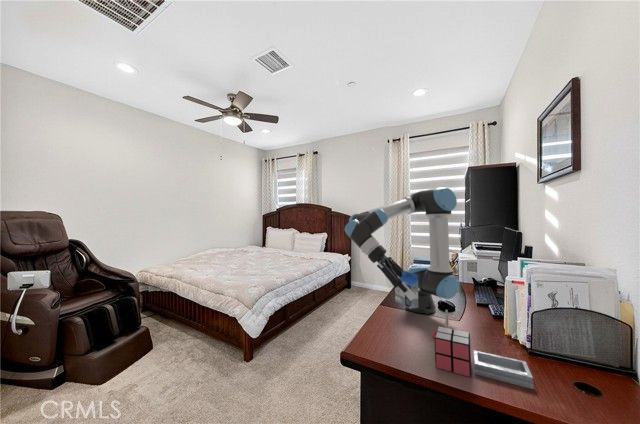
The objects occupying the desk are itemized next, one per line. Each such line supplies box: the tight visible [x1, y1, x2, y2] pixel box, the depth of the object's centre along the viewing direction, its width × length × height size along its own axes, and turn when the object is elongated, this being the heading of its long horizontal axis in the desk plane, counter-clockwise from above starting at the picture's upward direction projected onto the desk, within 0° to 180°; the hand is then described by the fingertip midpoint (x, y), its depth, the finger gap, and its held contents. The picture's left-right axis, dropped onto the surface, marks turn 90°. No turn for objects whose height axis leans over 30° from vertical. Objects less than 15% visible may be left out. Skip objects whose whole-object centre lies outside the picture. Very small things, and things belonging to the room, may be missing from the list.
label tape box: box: [394, 270, 418, 309], centre depth 92 cm, size 9×4×12 cm, turn 23°
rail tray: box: [473, 349, 535, 390], centre depth 76 cm, size 10×14×3 cm
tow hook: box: [432, 309, 450, 338], centre depth 99 cm, size 8×13×9 cm
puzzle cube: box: [433, 326, 472, 378], centre depth 81 cm, size 10×10×10 cm
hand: (415, 295), depth 91 cm, fingers closed on label tape box, 8 cm apart
